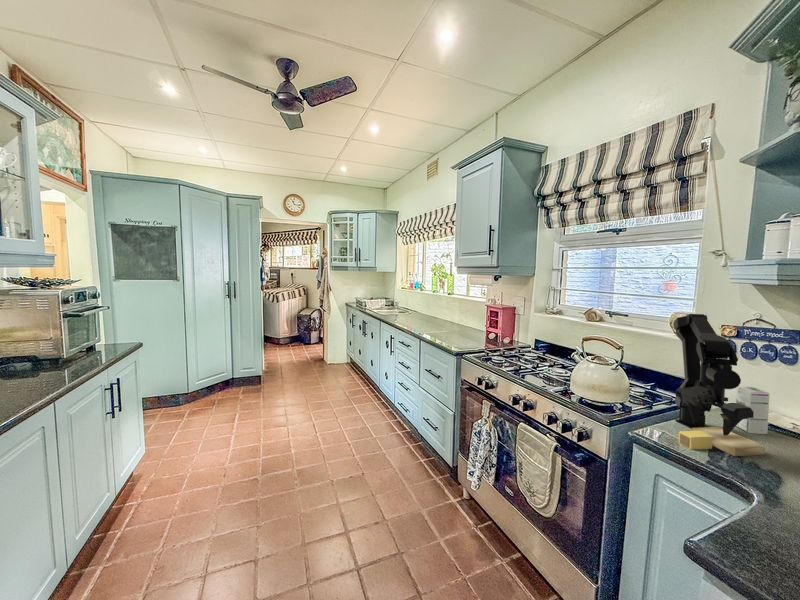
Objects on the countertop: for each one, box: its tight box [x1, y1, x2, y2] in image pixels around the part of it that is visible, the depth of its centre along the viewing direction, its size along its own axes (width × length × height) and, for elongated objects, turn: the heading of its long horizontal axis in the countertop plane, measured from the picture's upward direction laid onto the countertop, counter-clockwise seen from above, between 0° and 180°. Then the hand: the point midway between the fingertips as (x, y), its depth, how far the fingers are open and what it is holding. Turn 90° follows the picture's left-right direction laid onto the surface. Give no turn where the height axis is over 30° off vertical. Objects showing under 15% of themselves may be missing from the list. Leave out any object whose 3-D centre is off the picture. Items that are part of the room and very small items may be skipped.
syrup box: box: [735, 386, 770, 435], centre depth 111 cm, size 6×6×14 cm
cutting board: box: [691, 426, 766, 457], centre depth 102 cm, size 13×10×2 cm
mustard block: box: [678, 430, 713, 450], centre depth 101 cm, size 4×4×7 cm
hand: (709, 428), depth 101 cm, fingers open, 9 cm apart
